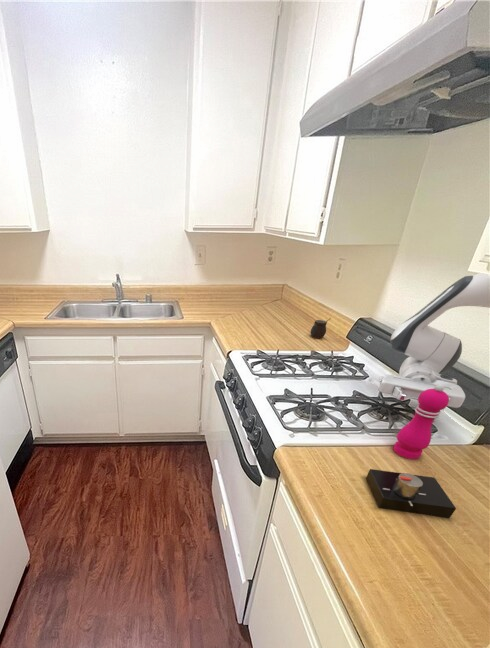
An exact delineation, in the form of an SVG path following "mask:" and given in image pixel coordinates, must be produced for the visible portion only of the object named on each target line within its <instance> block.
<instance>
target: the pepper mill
mask: <svg viewBox="0 0 490 648" xmlns="http://www.w3.org/2000/svg"><path fill="white" fill-rule="evenodd" d="M443 390H444V386H443V385H442V384H438V385H436V386H435V389H427V390H425V391H423V392H422V393H421V394H420V395H419V397H418V400H417V402H418V404H417V405H416V408H415V409H414V411H415V413H414V416H413V417H412V419H411V420H410V421H409V422H408V423H407V424H406V425H404V426H403V427H401V428H400V430H399V431H398V433H397V434H396V440H397V441H396V442H395V443H394V445H393V452H395V453H396V454H397V455H398V456H400V457H402V458H405V459H409V460H418V459H419V458H420V457H421V456H422V454H423V450H425V449H427V448H428V447H429V446H430V443H431V440H432V426H433V423H434V421H435V419H437V418H438V417H440V414H441V411H442V410H445V409H446V408H447V407H448V406H447V405H448V403H449V397H448V395H447V394H446V393H445V392H443Z"/></svg>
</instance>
